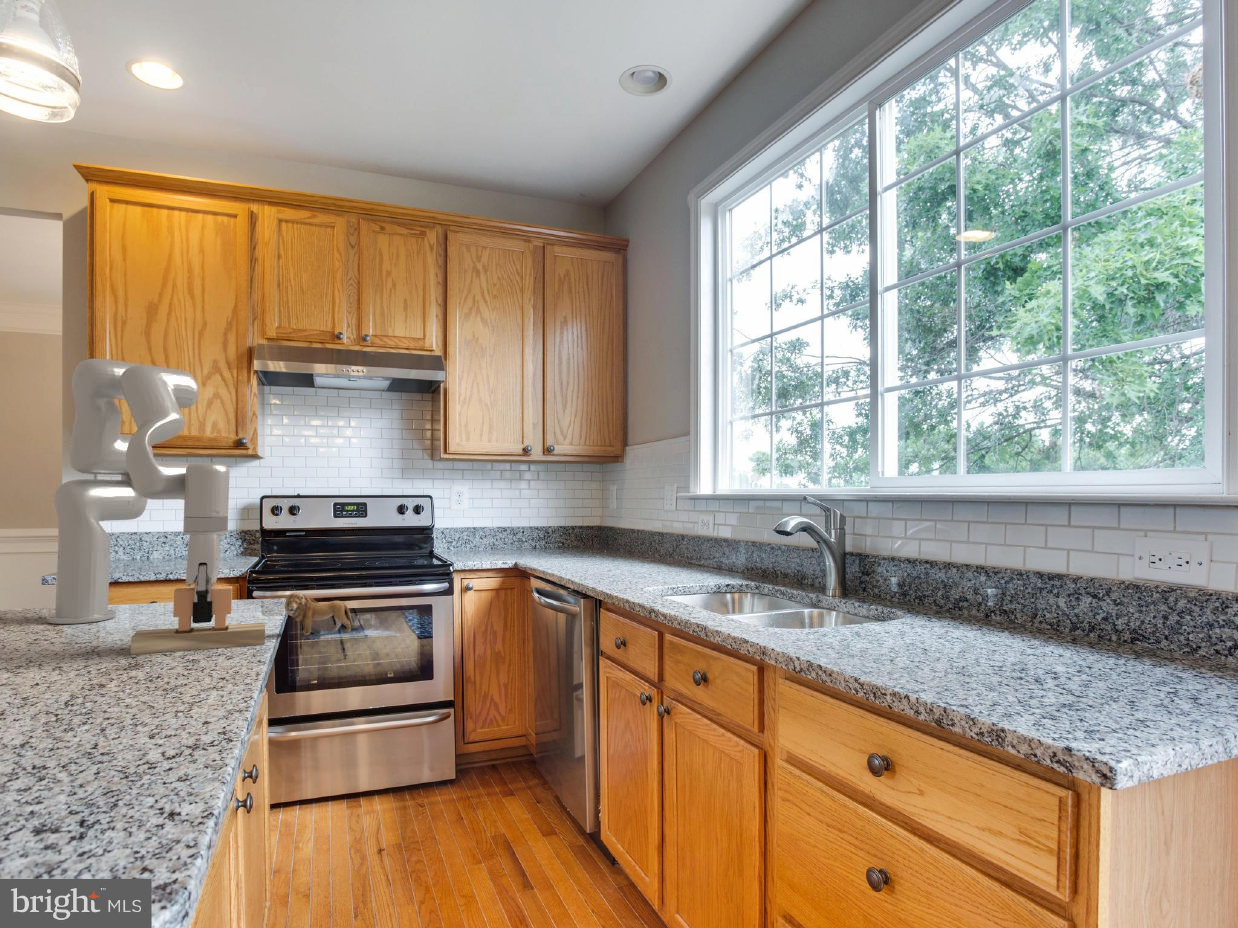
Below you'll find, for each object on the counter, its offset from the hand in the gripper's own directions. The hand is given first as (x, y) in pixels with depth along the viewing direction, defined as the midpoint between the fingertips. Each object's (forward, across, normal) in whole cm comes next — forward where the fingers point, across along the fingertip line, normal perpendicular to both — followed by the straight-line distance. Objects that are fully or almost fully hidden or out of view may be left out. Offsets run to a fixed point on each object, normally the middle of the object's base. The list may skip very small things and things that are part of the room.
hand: (202, 619), depth 138 cm
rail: (+5, 0, 0) cm, 5 cm away
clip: (+2, 0, 0) cm, 2 cm away
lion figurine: (+5, -4, +21) cm, 22 cm away
